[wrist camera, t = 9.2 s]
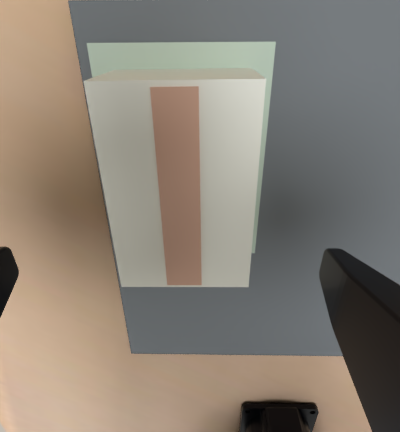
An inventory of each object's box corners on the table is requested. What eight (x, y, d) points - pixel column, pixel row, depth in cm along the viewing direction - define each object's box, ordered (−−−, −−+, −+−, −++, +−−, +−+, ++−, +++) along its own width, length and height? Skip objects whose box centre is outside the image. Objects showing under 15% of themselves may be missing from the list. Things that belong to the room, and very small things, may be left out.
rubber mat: (370, 351, 24) (373, 357, 23) (132, 348, 24) (131, 354, 24) (514, -3, 13) (525, -5, 12) (72, 1, 13) (67, 0, 13)
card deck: (251, 67, 14) (266, 78, 10) (240, 239, 18) (248, 288, 15) (114, 69, 14) (82, 81, 10) (137, 239, 18) (120, 288, 15)
